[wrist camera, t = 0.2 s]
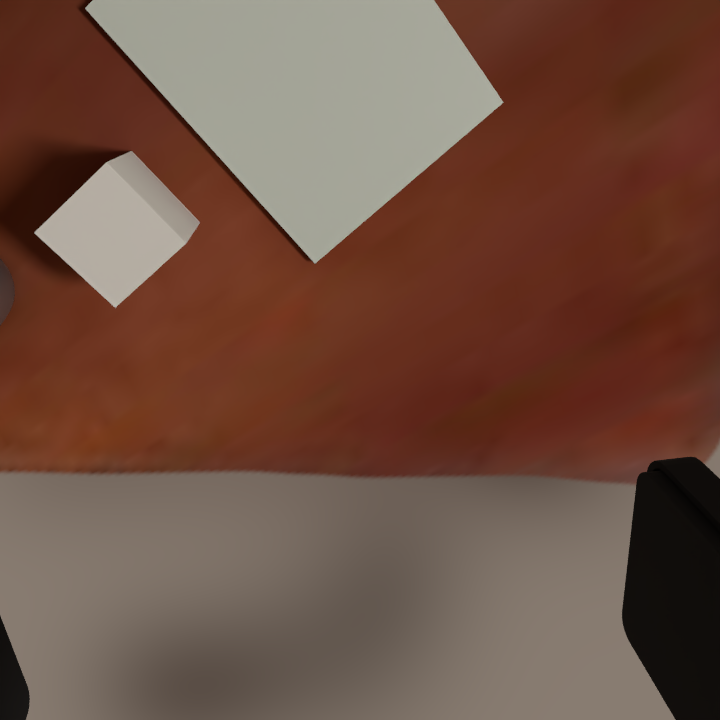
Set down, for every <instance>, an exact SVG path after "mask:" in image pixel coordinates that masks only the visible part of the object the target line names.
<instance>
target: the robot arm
mask: <svg viewBox="0 0 720 720" xmlns="http://www.w3.org/2000/svg"><path fill="white" fill-rule="evenodd" d="M635 494H636V495H635V502H634V511H633V520H632V529H631V538H630V547H629V556H628V565H627V574H626V582H625V591H624V600H623V609H622V620H623V626H624V630H625V632H626V635H627V638H628V640H629V642H630V643H631V645H632V647H633V649H634V650H635V652H636V653H637V655H638V657H639V659H640V660H641V662H642V664H643V665H644V667H645V669H646V670H647V672H648V674H649V676H650V677H651V679H652V681H653V682H654V684H655V686H656V687H657V689H658V691H659V692H660V694H661V696H662V698H663V699H664V701H665V702H666V704H667V706H668V708H669V709H670V711H671V713H672V714H673V716H674V718H675V719H676V720H720V479H719V478H718V477H717V476H716V475H715V474H714V473H713V472H712V471H711V470H710V469H709V468H708V467H707V466H706V465H705V464H703V463H702V462H701V461H700V460H699V459H697V458H696V457H684V458H675V459H666V460H658V461H654V462H652V463H651V464H650V465H649V467H648V470H647V472H643V473H641V474H640V475H639V476H638V479H637V484H636V493H635ZM29 700H30V698H29V690H28V686H27V684H26V681H25V679H24V676H23V674H22V671H21V668H20V666H19V663H18V661H17V658H16V655H15V653H14V651H13V648H12V645H11V642H10V640H9V637H8V635H7V632H6V630H5V627H4V624H3V622H2V619H1V617H0V720H26V717H27V714H28V709H29Z"/></svg>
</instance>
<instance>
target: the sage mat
mask: <svg viewBox="0 0 720 720" xmlns="http://www.w3.org/2000/svg"><path fill="white" fill-rule="evenodd" d="M85 9H86V10H87V11H88V12H89V13H90V15H91V16H92V17H93V18H94V19H95V20H96V21H97V22H98V23H99V25H100V26H101V27H102V28H103V29H104V30H105V31H106V32H107V33H108V35H109V36H110V37H111V38H112V39H113V40H114V41H115V42H116V43H117V45H118V46H119V47H120V48H121V49H122V50H123V51H124V52H125V53H126V55H127V56H128V57H129V58H130V59H131V60H132V61H133V62H134V63H135V65H136V66H137V67H138V68H139V69H140V70H141V71H142V72H143V73H144V75H145V76H146V77H147V78H148V79H149V80H150V81H151V82H152V83H153V85H154V86H155V87H156V88H157V89H158V90H159V91H160V92H161V93H162V95H163V96H164V97H165V98H166V99H167V100H168V101H169V102H170V103H171V104H172V106H173V107H174V108H175V109H176V110H177V111H178V112H179V113H180V114H181V116H182V117H183V118H184V119H185V120H186V121H187V122H188V123H189V124H190V126H191V127H192V128H193V129H194V130H195V131H196V132H197V133H198V134H199V136H200V137H201V138H202V139H203V140H204V141H205V142H206V143H207V144H208V146H209V147H210V148H211V149H212V150H213V151H214V152H215V153H216V154H217V156H218V157H219V158H220V159H221V160H222V161H223V162H224V163H225V164H226V166H227V167H228V168H229V169H230V170H231V171H232V172H233V173H234V174H235V176H236V177H237V178H238V179H239V180H240V181H241V182H242V183H243V184H244V186H245V187H246V188H247V189H248V190H249V191H250V192H251V193H252V194H253V196H254V197H255V198H256V199H257V200H258V201H259V202H260V203H261V204H262V206H263V207H264V208H265V209H266V210H267V211H268V212H269V213H270V214H271V215H272V217H273V218H274V219H275V220H276V221H277V222H278V223H279V224H280V225H281V227H282V228H283V229H284V230H285V231H286V232H287V233H288V234H289V235H290V237H291V238H292V239H293V240H294V241H295V242H296V243H297V244H298V245H299V247H300V248H301V249H302V250H303V251H304V252H305V253H306V254H307V255H308V257H309V258H310V259H311V260H312V261H313V262H314V263H316V262H317V261H318V260H320V259H321V258H322V257H323V256H324V255H326V254H327V253H328V252H329V251H330V250H331V249H333V248H334V247H335V246H336V245H337V244H338V243H340V242H341V241H342V240H343V239H344V238H345V237H347V236H348V235H349V234H350V233H351V232H352V231H354V230H355V229H356V228H357V227H358V226H359V225H361V224H362V223H363V222H364V221H365V220H366V219H368V218H369V217H370V216H371V215H372V214H373V213H375V212H376V211H377V210H378V209H379V208H380V207H382V206H383V205H384V204H385V203H386V202H387V201H389V200H390V199H391V198H392V197H393V196H395V195H396V194H397V193H398V192H399V191H400V190H402V189H403V188H404V187H405V186H406V185H407V184H409V183H410V182H411V181H412V180H413V179H414V178H416V177H417V176H418V175H419V174H420V173H421V172H423V171H424V170H425V169H426V168H427V167H428V166H430V165H431V164H432V163H433V162H434V161H435V160H437V159H438V158H439V157H440V156H441V155H442V154H444V153H445V152H446V151H447V150H448V149H449V148H451V147H452V146H453V145H454V144H455V143H457V142H458V141H459V140H460V139H461V138H462V137H464V136H465V135H466V134H467V133H468V132H469V131H471V130H472V129H473V128H474V127H475V126H476V125H478V124H479V123H480V122H481V121H482V120H483V119H485V118H486V117H487V116H488V115H489V114H490V113H492V112H493V111H494V110H495V109H496V108H497V107H499V106H500V105H501V104H502V103H503V101H502V100H501V98H500V97H499V95H498V94H497V92H496V91H495V89H494V88H493V86H492V85H491V84H490V82H489V81H488V79H487V78H486V76H485V75H484V73H483V72H482V70H481V69H480V67H479V66H478V64H477V63H476V61H475V60H474V59H473V57H472V56H471V54H470V53H469V51H468V50H467V48H466V47H465V45H464V44H463V42H462V41H461V39H460V38H459V36H458V35H457V34H456V32H455V31H454V29H453V28H452V26H451V25H450V23H449V22H448V20H447V19H446V17H445V16H444V14H443V13H442V11H441V10H440V9H439V7H438V6H437V4H436V3H435V1H434V0H92V1H91V2H90V4H89V5H88V6H87V7H86V8H85Z"/></svg>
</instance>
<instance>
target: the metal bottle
mask: <svg viewBox="0 0 720 720" xmlns="http://www.w3.org/2000/svg"><path fill="white" fill-rule="evenodd" d="M14 296H15V290H14V283H13V279H12V276H11V274H10V272H9V270H8V268H7V267H6V265H5V264H4V263H3V261H2V260H1V259H0V325H1V324H2V322H3V321H4V320H5V318H6V316H7V315H8V313H9V311H10V310H11V307H12V305H13V302H14Z"/></svg>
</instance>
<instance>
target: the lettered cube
mask: <svg viewBox="0 0 720 720" xmlns="http://www.w3.org/2000/svg"><path fill="white" fill-rule="evenodd" d="M199 223H200V222H199V221H198V220H197V219H196V218H195V217H194V216H193V215H192V213H191V212H190V211H189V210H188V209H187V208H186V207H185V206H184V205H183V204H182V203H181V202H180V201H179V200H178V199H177V198H176V197H175V196H174V195H173V194H172V193H171V192H170V190H169V189H168V188H167V187H166V186H165V185H164V184H163V183H162V182H161V181H160V180H159V179H158V178H157V177H156V176H155V175H154V174H153V173H152V172H151V171H150V170H149V169H148V168H147V166H146V165H145V164H144V163H143V162H142V161H141V160H140V159H139V158H138V157H137V156H136V155H135V154H134V153H133V152H132V151H130V152H128V153H126V154H124V155H121V156H119V157H117V158H115V159H112V160H110V161H108V162H106V163H105V164H104V165H103V166H102V167H101V168H100V169H99V170H98V171H97V172H96V173H95V174H94V175H93V176H92V177H91V178H90V179H89V180H88V181H87V182H86V183H85V184H84V185H83V186H82V187H81V188H80V189H79V190H77V191H76V192H75V193H74V194H73V195H72V196H71V197H70V198H69V199H68V200H67V201H66V202H65V203H64V204H63V205H62V206H61V207H60V208H59V209H58V210H57V211H56V212H55V213H54V214H53V215H52V216H51V217H50V218H49V219H48V220H47V221H46V222H45V223H44V224H43V225H42V226H41V227H39V228H38V229H37V230H36V231H35V232H34V233H35V234H36V235H37V236H38V237H39V238H40V239H41V240H42V241H43V242H45V243H46V244H47V245H48V246H49V247H50V248H51V249H52V250H53V251H54V252H55V253H56V254H58V255H59V256H60V257H61V258H62V259H63V260H64V261H65V262H66V263H67V264H68V265H70V266H71V267H72V268H73V269H74V270H75V271H76V272H77V273H78V274H79V275H80V276H81V277H83V278H84V279H85V280H86V281H87V282H88V283H89V284H90V285H91V286H92V287H93V288H94V289H96V290H97V291H98V292H99V293H100V294H101V295H102V296H103V297H104V298H105V299H106V300H107V301H109V302H110V303H111V304H112V305H113V306H114V307H117V306H118V305H119V304H120V303H121V302H122V301H123V300H124V299H125V298H126V297H128V296H129V295H130V294H131V293H132V292H133V291H134V290H135V289H136V288H137V287H139V286H140V285H141V284H142V283H143V282H144V281H145V280H146V279H147V278H148V277H150V276H151V275H152V274H153V273H154V272H155V271H156V270H157V269H158V268H159V267H161V266H162V265H163V264H164V263H165V262H166V261H167V260H168V259H169V258H170V257H172V256H173V255H174V254H175V253H176V252H177V251H178V250H179V249H180V248H181V247H183V246H184V245H185V244H186V243H187V241H188V240H189V238H190V237H191V235H192V234H193V232H194V231H195V229H196V228H197V226H198V225H199Z"/></svg>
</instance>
